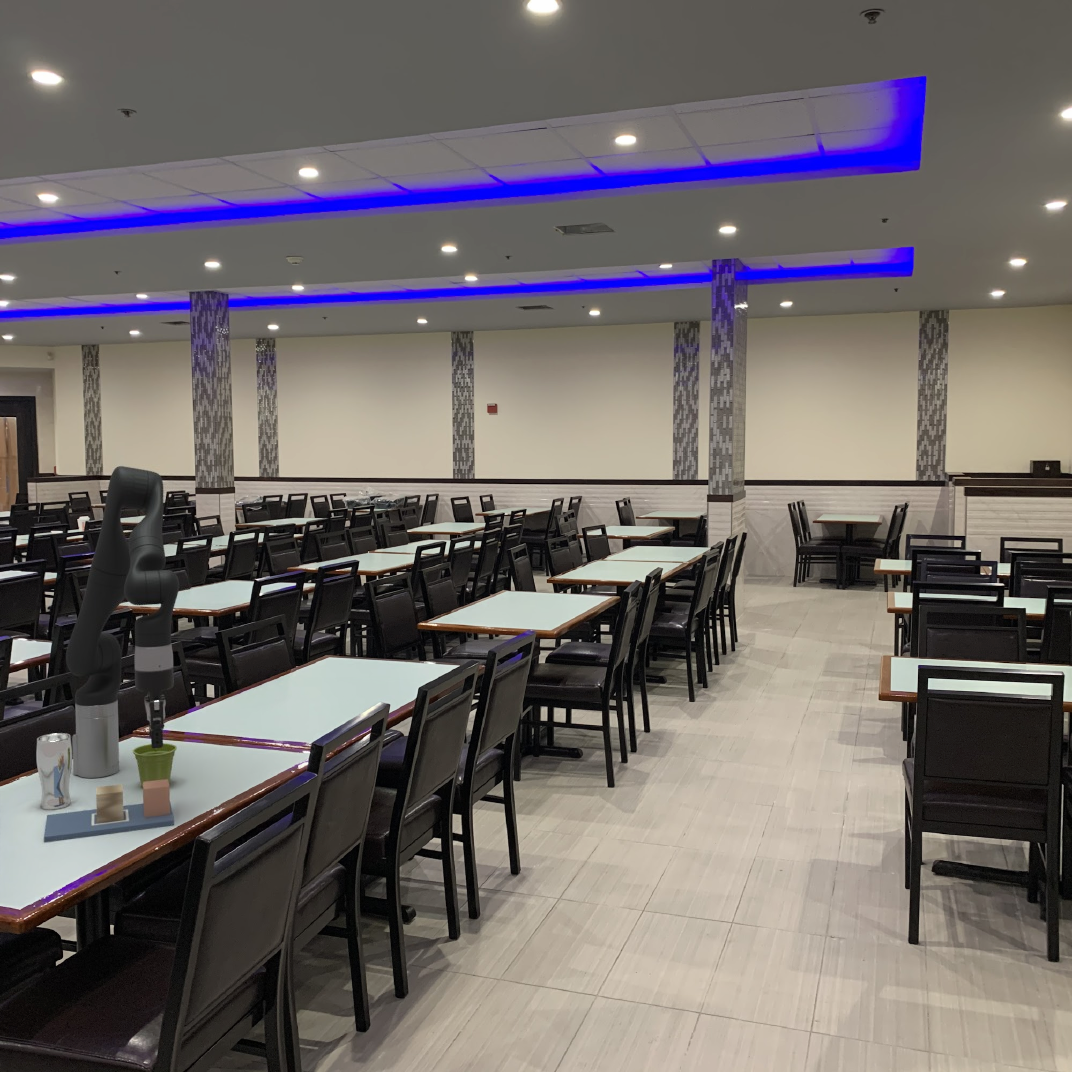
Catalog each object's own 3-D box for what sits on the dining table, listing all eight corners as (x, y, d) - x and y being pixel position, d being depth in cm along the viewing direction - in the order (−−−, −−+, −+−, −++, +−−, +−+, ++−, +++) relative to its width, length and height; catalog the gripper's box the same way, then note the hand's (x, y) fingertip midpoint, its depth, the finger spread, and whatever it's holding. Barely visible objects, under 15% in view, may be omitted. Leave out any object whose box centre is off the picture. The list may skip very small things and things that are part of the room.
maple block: (96, 823, 202) (96, 794, 202) (97, 815, 207) (96, 787, 206) (123, 820, 204) (122, 791, 204) (123, 812, 209) (122, 784, 208)
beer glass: (50, 813, 211) (48, 743, 209) (31, 806, 214) (29, 738, 213) (80, 803, 216) (78, 736, 215) (61, 797, 220) (59, 731, 219)
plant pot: (142, 778, 233) (142, 742, 232) (183, 779, 233) (182, 743, 233) (126, 792, 224) (126, 754, 223) (168, 792, 224) (168, 755, 223)
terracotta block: (144, 817, 206) (143, 789, 205) (143, 809, 210) (142, 781, 210) (170, 814, 208) (169, 786, 207) (168, 806, 212) (168, 779, 212)
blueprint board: (44, 842, 195) (43, 836, 195) (47, 819, 207) (47, 814, 207) (173, 825, 204) (173, 819, 204) (169, 804, 216) (169, 799, 216)
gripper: (175, 671, 202) (177, 749, 203) (170, 658, 215) (172, 731, 216) (135, 674, 199) (138, 753, 200) (133, 660, 212) (135, 735, 213)
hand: (156, 742), depth 208 cm, fingers open, 8 cm apart
